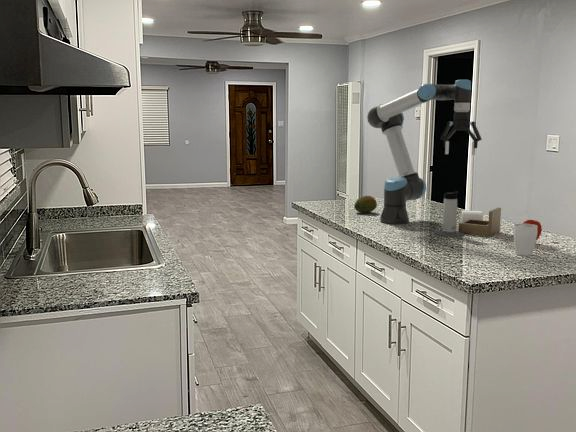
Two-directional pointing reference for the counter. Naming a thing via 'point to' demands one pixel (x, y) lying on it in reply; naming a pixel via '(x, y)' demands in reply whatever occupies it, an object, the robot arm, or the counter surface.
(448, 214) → the travel mug
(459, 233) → the mat
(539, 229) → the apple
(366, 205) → the fruit
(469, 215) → the mug
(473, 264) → the counter surface
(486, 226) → the brown wooden open box
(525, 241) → the cup
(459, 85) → the robot arm
